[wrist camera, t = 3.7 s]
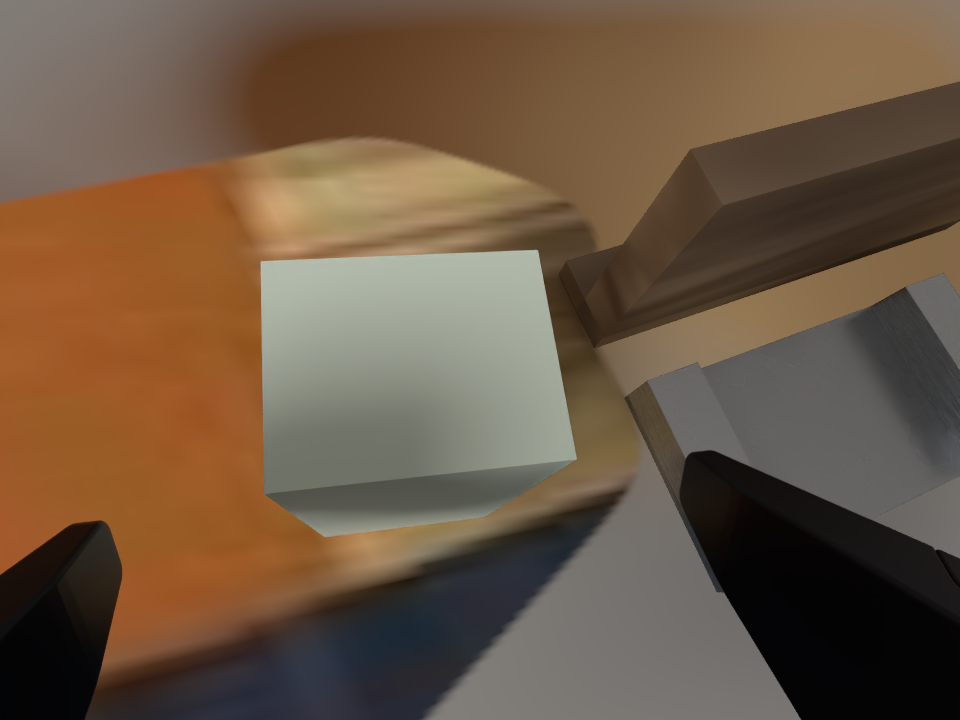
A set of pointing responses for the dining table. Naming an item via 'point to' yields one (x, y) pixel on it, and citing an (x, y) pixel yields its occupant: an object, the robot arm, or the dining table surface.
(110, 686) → the dining table surface
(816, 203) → the wall board
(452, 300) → the sage green block
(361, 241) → the dining table surface
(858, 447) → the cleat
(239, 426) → the dining table surface
